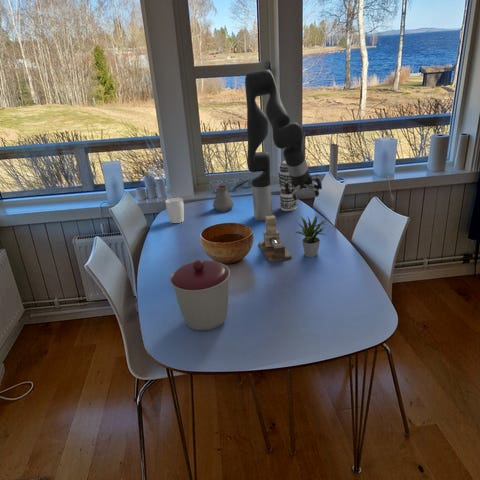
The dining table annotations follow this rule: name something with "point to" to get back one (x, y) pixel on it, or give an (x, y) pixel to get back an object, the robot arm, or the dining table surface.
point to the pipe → (274, 241)
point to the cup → (175, 209)
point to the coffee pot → (224, 198)
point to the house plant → (311, 236)
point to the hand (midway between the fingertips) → (306, 197)
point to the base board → (275, 252)
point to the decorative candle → (286, 199)
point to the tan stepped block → (270, 231)
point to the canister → (202, 293)
